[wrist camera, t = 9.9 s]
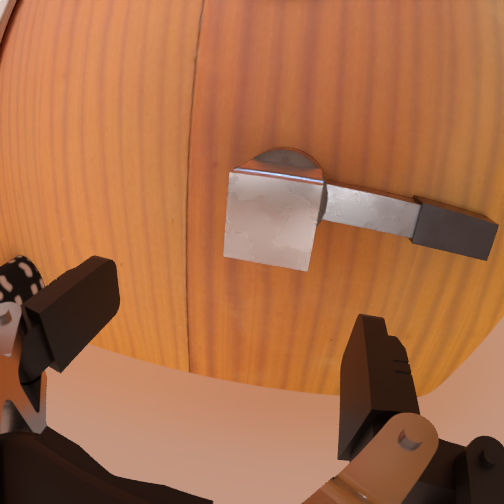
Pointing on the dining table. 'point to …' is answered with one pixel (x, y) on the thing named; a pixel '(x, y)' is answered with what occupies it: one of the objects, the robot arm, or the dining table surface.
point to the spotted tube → (19, 280)
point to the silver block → (272, 213)
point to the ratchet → (397, 213)
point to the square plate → (5, 14)
